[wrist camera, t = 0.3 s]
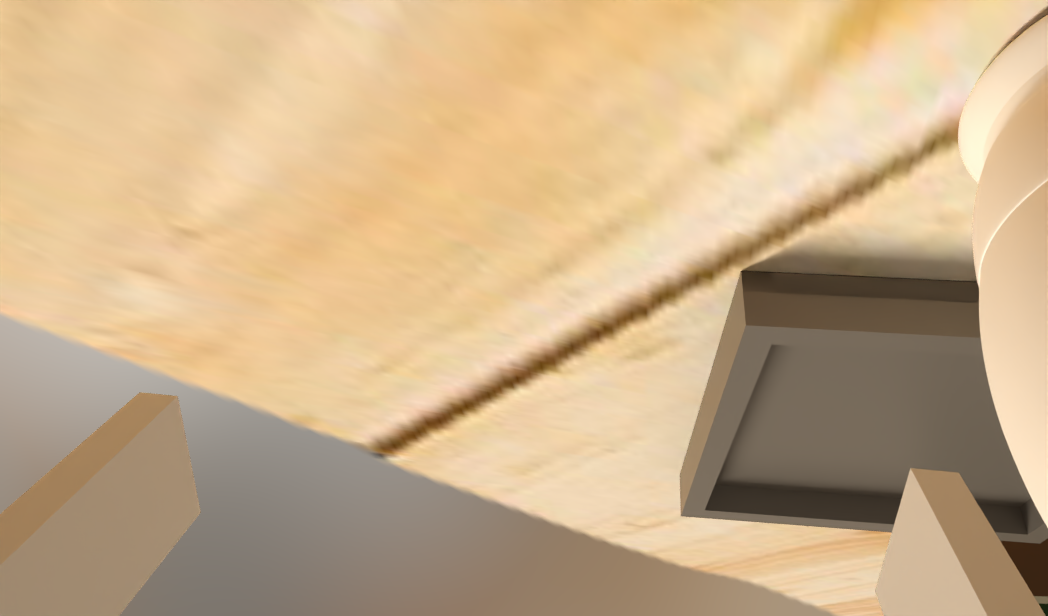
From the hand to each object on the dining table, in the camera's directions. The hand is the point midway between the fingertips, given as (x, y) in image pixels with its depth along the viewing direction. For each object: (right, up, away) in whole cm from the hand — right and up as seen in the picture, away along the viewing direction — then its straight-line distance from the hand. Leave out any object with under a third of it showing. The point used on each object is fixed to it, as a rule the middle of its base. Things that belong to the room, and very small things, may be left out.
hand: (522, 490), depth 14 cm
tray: (+19, -2, +24) cm, 30 cm away
